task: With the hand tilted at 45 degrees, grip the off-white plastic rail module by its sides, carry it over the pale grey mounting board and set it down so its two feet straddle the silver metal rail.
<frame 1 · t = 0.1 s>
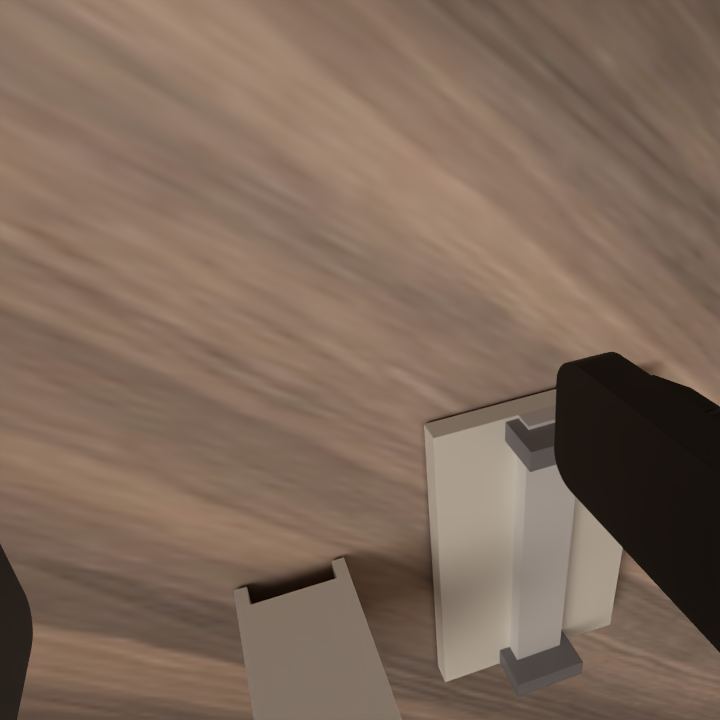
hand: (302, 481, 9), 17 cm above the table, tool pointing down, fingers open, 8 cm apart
rail module: (296, 604, 36), on the table
mounting board: (526, 532, 38), on the table
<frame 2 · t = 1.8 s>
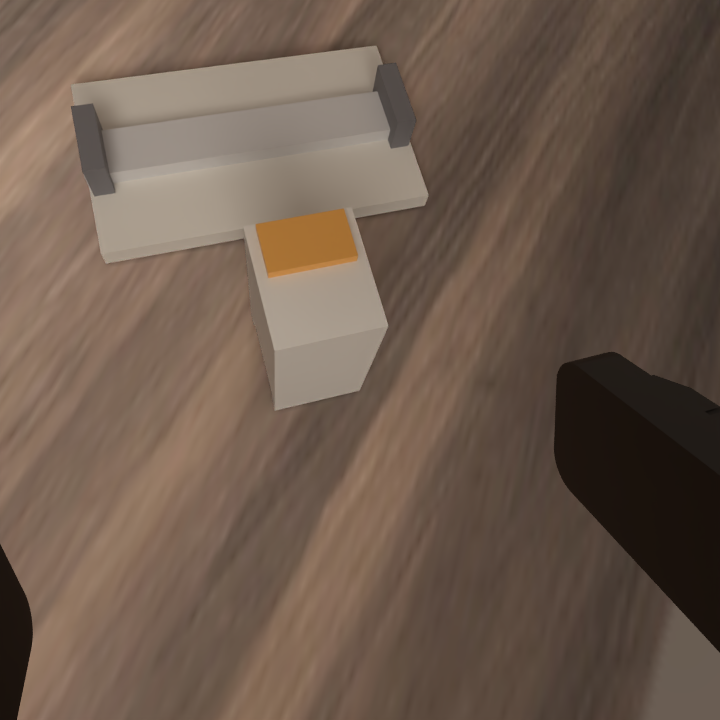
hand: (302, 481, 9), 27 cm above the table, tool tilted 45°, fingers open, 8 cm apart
rail module: (304, 352, 38), on the table
mounting board: (251, 152, 42), on the table
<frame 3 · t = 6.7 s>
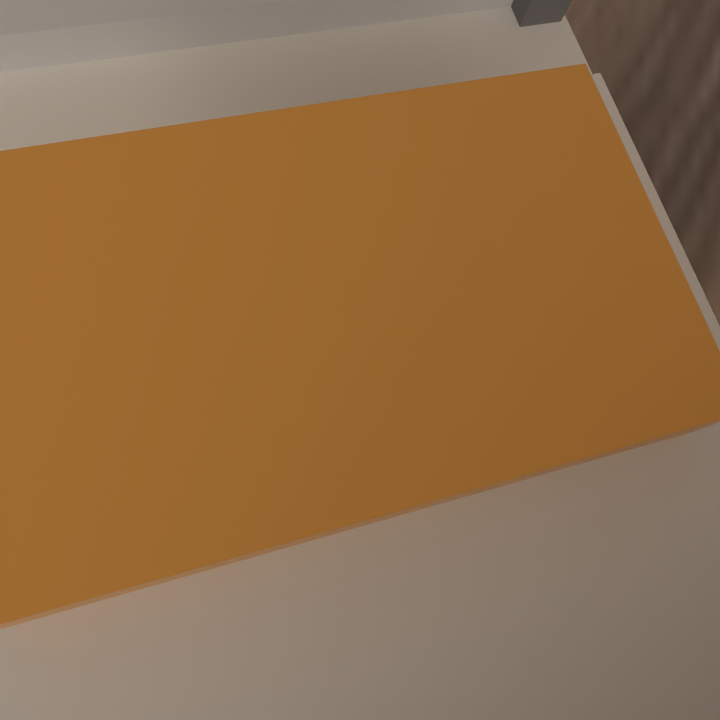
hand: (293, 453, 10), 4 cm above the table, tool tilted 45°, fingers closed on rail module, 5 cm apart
rail module: (312, 578, 13), on the table, touching gripper
mounting board: (179, 39, 17), on the table
when the fingers open (7 cm above the table, at t = 12.4 s): rail module drops 1 cm, resting on mounting board.
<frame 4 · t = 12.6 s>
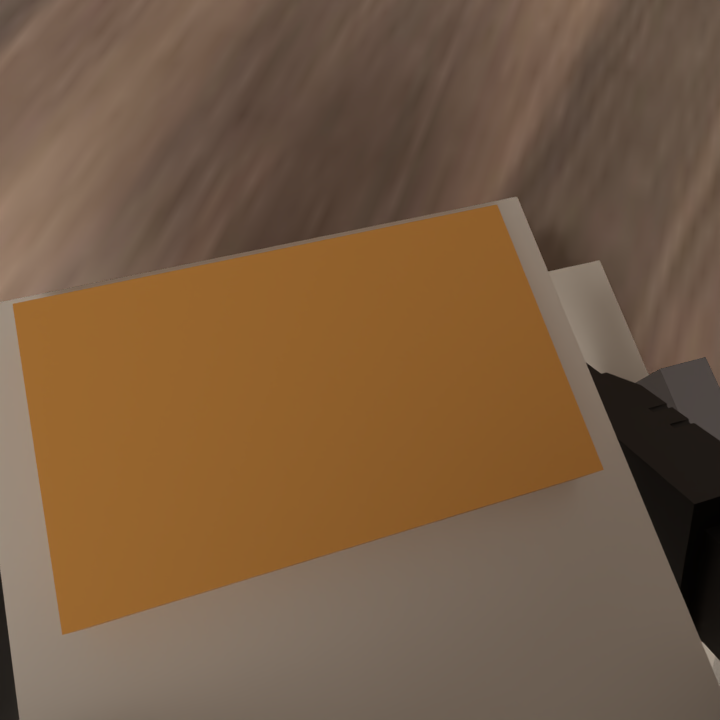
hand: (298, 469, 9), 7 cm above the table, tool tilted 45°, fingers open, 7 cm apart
rail module: (307, 582, 15), point 1 cm above the table, touching mounting board
mounting board: (306, 579, 16), on the table
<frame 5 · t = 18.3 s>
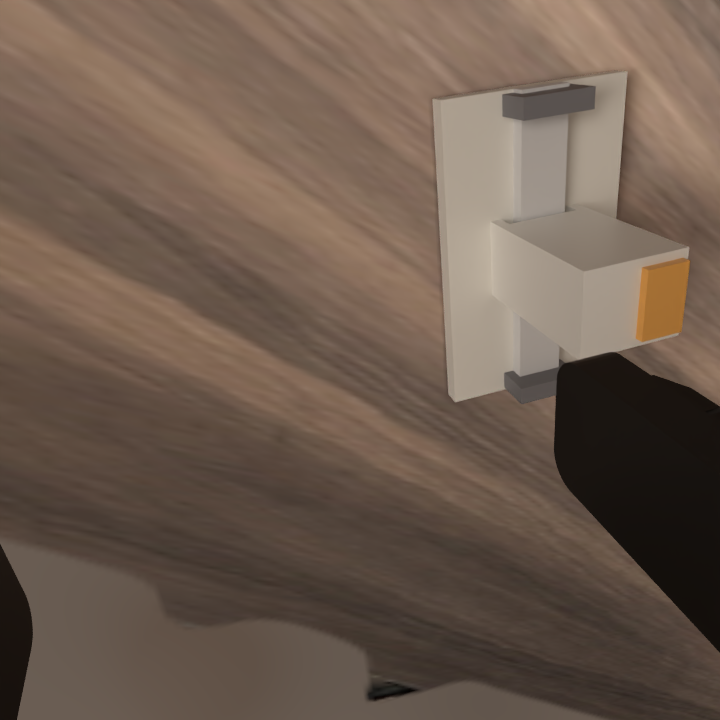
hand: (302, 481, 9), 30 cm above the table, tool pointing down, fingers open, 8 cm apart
rail module: (533, 250, 42), point 1 cm above the table, touching mounting board
mounting board: (525, 245, 43), on the table
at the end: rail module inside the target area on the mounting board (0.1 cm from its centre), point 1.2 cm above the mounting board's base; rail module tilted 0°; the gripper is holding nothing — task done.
